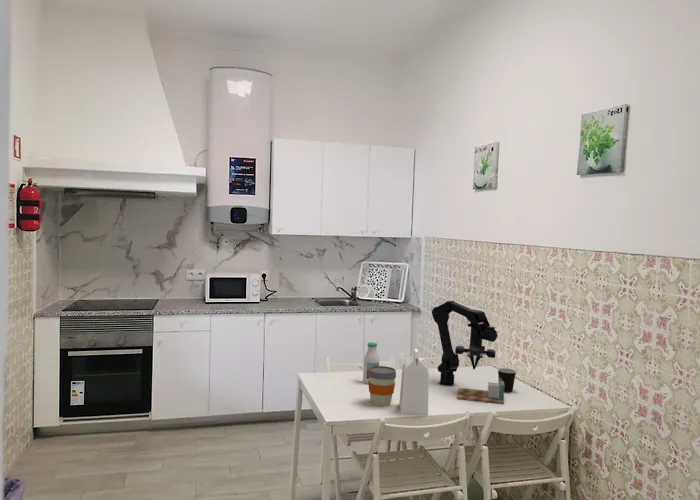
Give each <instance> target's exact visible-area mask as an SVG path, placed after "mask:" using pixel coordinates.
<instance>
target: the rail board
mask: <svg viewBox="0 0 700 500" xmlns="http://www.w3.org/2000/svg"><path fill="white" fill-rule="evenodd" d="M498 383H499V385H500V392H499V399H495V398H488V390H485V389H475V388H467V387H466V388H465V387H457V393H456V400H462V401H470V402H477V403H478V402H479V403H487V404H488V403H489V404H498V405H504V403H505V401H504V400H505V392H504V387H505V385H504V381H499V380H498Z"/></svg>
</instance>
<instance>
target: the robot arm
mask: <svg viewBox="0 0 700 500" xmlns="http://www.w3.org/2000/svg"><path fill="white" fill-rule="evenodd" d="M452 312H454V313H456V314H458V315H460V316H463V317H464V318H466V320H467V321H468V322H469V323H468V324H467V327H469V328H470V335H469V338H470V339H469V346H468V348H465V346H463V345H456V346H455V349H454V350H453V344H452V341H451V335H450V330H449V326H448V325H449V324H448V323H449V320H450V313H452ZM431 315H432V318H433V322H435V323H436V324H437V328H438V333H439V338H440V343H441V350H442V356H441V363H440V364H439V365H437V372H439V373H440V379H439V385H442V386H443V385H444V386H454V384H455V374H454V373H455V372H457V370H458V368H459V367H460V358H459V355H463V354H464V353H466V354H467V355H466V357H468V358H469V359H470V361H471V362H470V363H471V366H472V370H476V368H477V365H478V363H479V361H480V360H481V359H483V358H484V356H487V357H488V358H490V359H491V358H492V359H495V358H496V350H495V349H491V348H487V349H486V346H485V345H483V340H484V341H488V342H491V343H493V342H495V341H496V340H497V339H498V332H497V330H496V327H494V326H491V324H490V323H489V321H488V318H487V316H486V312H484V311H482V310H479V309H472V308H469V307H467V306H464V305H462V304H460V303H457V302H456V300H455V301H454V300H447V301H445V302H444V303H442V304H440V305H438V306H435V307H433V308H432V310H431ZM485 349H486V350H485ZM475 357H476V358H475Z"/></svg>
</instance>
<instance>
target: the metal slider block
mask: <svg viewBox="0 0 700 500" xmlns="http://www.w3.org/2000/svg"><path fill="white" fill-rule="evenodd" d="M487 384H488V385H487V391H488V398H495V399H499V392H500V385H499V382H488V383H487Z"/></svg>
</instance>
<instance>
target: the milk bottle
mask: <svg viewBox="0 0 700 500" xmlns="http://www.w3.org/2000/svg"><path fill="white" fill-rule="evenodd" d="M377 346H378V344H377V343H376V342H373V341H372V342H371V341H370V342H367V351H366V353H365V355H364V357H363V358H364V359H363V367H362V368H363V369H362V370H363V371H362V372H363V374H362V381H363V384H366V385H368V381H369V376H368V371H369V368H370V367H374V366H380V357H379V354H378V351H377V348H378V347H377Z"/></svg>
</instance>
